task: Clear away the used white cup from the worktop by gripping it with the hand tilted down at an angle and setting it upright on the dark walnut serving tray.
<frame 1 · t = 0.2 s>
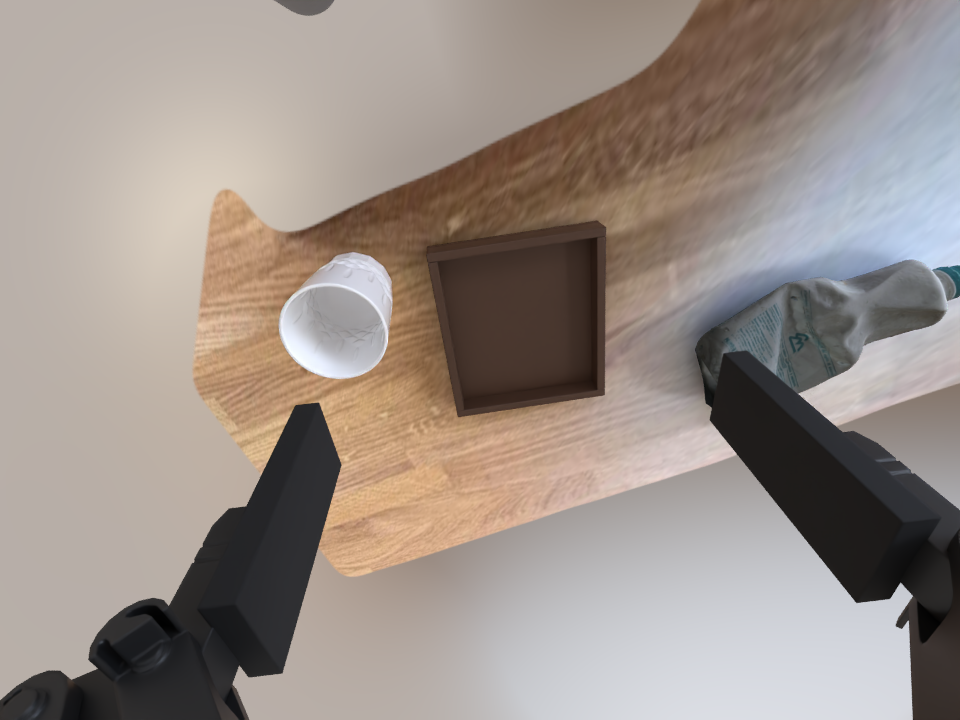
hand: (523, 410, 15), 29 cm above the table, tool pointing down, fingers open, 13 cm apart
white cup: (357, 286, 42), on the table
grey hollow crumpled part: (798, 319, 47), on the table
serving tray: (520, 321, 45), on the table
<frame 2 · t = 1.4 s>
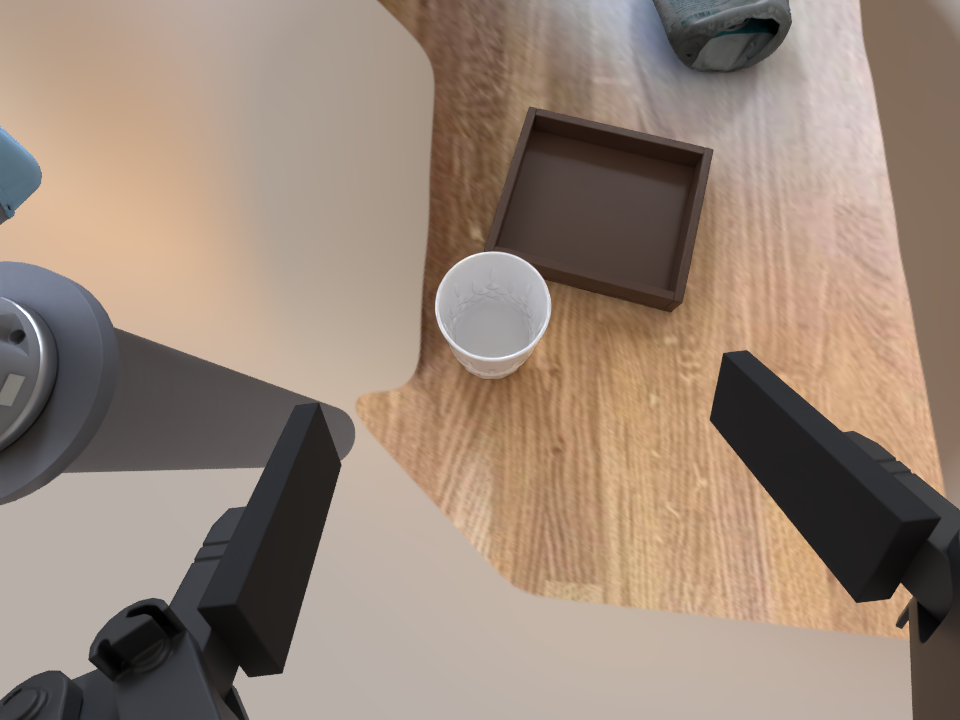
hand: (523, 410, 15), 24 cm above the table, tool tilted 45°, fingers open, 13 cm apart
white cup: (491, 343, 40), on the table
serving tray: (595, 213, 43), on the table
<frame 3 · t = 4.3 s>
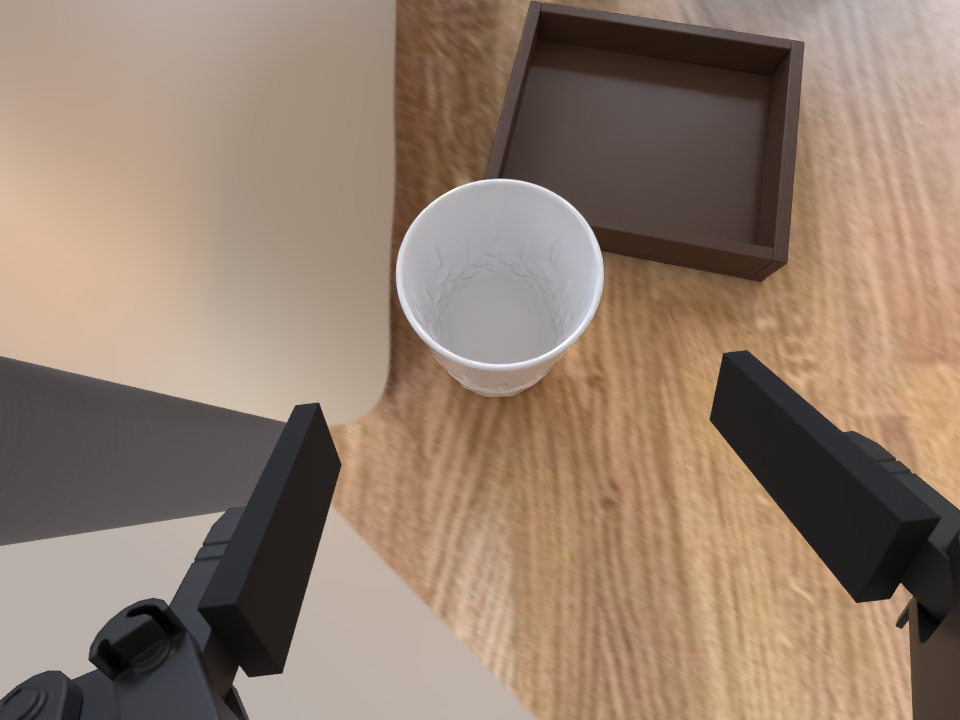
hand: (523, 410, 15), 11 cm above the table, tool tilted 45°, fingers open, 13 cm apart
white cup: (497, 343, 27), on the table
serving tray: (634, 148, 30), on the table
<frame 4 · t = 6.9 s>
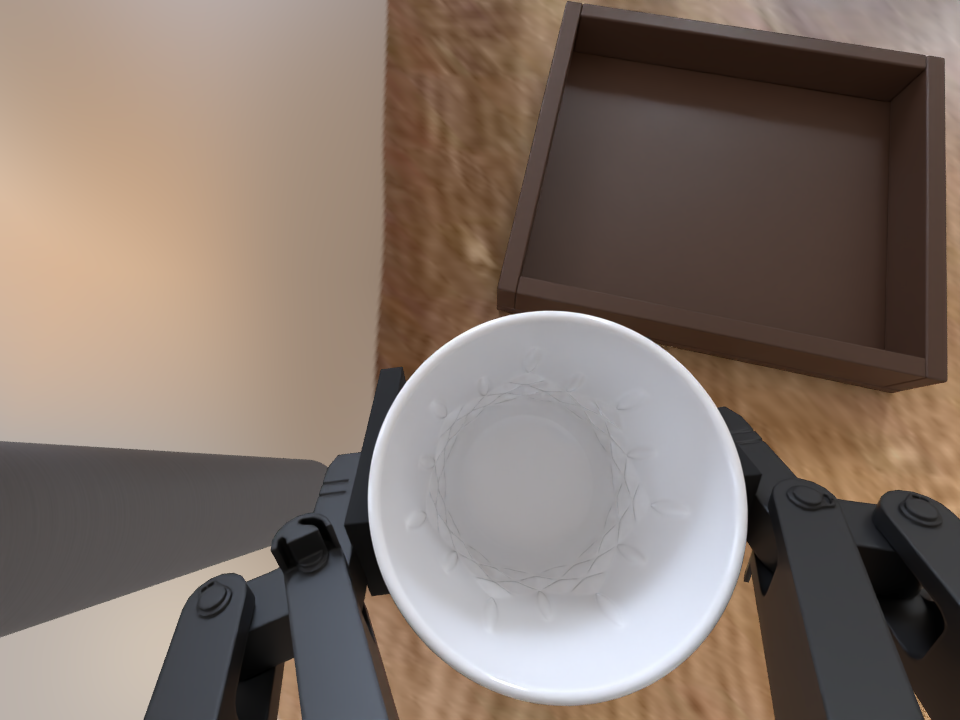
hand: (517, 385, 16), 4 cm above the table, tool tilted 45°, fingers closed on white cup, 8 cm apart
white cup: (523, 479, 19), on the table, touching gripper
serving tray: (706, 200, 22), on the table
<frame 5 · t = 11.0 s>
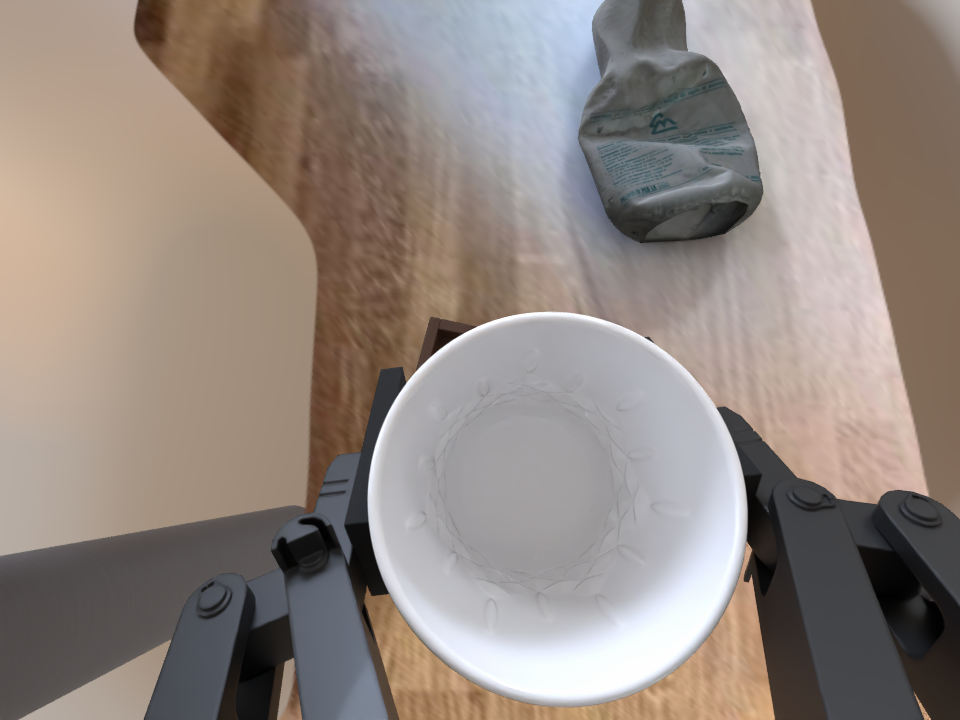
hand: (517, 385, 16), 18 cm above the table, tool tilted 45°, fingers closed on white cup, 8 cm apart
white cup: (523, 480, 19), point 14 cm above the table, touching gripper
grey hollow crumpled part: (644, 130, 39), on the table
serving tray: (524, 451, 33), on the table
when the fingers open (4 cm above the table, at t = 15.1 s): white cup stays where it is, resting on serving tray.
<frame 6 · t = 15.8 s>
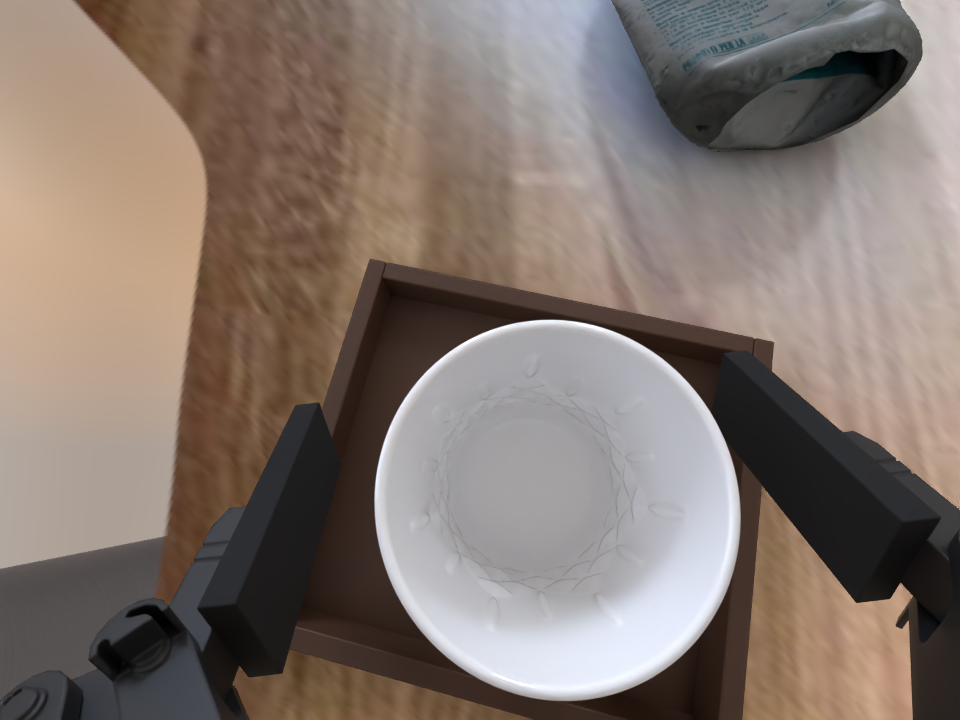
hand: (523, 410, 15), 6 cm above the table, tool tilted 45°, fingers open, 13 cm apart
white cup: (523, 481, 20), resting on serving tray
serving tray: (523, 479, 20), on the table
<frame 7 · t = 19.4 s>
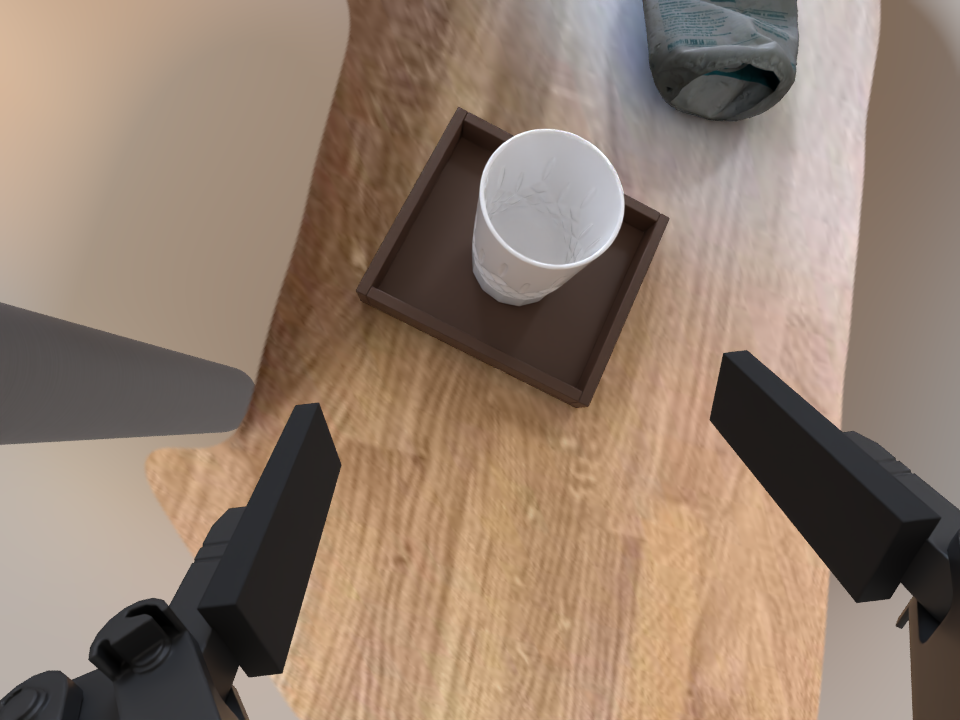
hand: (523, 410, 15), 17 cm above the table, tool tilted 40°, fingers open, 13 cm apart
white cup: (515, 263, 34), resting on serving tray
grey hollow crumpled part: (700, 7, 39), on the table
serving tray: (514, 264, 34), on the table
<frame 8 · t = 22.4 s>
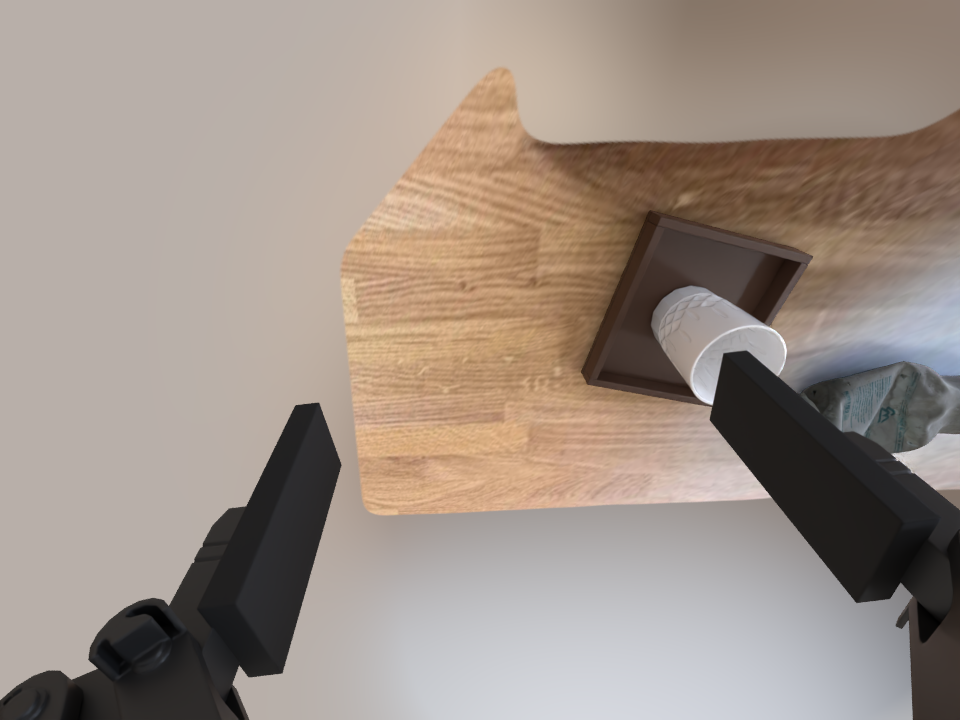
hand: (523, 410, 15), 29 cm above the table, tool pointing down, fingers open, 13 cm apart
white cup: (682, 315, 46), resting on serving tray
grey hollow crumpled part: (880, 395, 54), on the table
serving tray: (681, 314, 46), on the table
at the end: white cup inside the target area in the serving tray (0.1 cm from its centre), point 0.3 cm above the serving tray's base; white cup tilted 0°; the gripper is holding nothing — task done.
